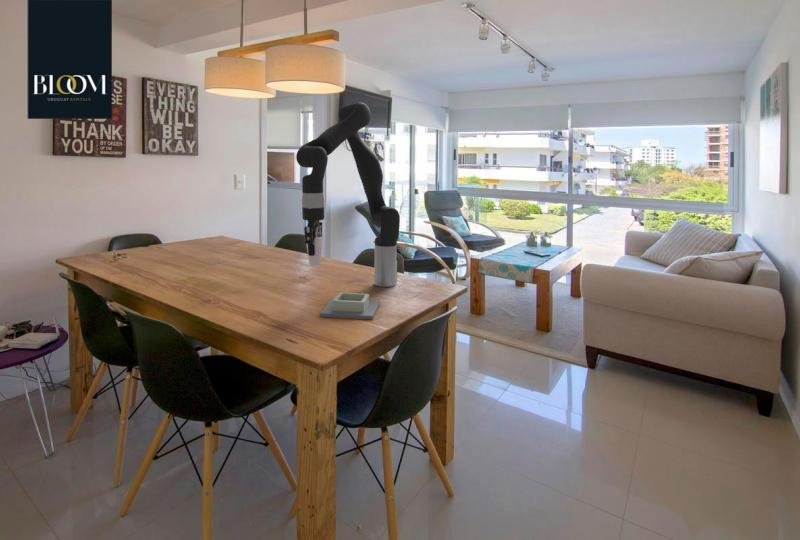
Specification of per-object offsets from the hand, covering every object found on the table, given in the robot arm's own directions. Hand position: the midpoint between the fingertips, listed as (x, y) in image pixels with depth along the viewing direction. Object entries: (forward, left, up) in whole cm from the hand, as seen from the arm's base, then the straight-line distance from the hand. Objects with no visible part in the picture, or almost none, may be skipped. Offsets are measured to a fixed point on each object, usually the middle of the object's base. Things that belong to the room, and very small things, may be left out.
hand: (314, 253), depth 171 cm
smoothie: (0, 0, -4) cm, 4 cm away
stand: (-4, +14, -19) cm, 24 cm away
